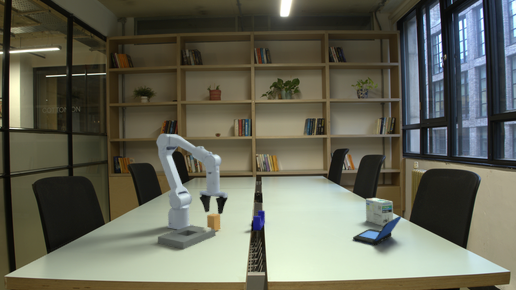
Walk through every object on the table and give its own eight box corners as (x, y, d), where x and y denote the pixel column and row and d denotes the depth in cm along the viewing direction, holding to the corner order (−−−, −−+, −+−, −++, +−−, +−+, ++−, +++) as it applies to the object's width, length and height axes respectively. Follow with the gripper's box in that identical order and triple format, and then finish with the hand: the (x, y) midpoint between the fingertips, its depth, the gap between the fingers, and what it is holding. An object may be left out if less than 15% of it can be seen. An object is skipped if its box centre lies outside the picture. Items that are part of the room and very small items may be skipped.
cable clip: (255, 222, 141) (255, 210, 141) (264, 223, 140) (264, 210, 140) (250, 230, 129) (249, 216, 129) (260, 230, 128) (259, 216, 128)
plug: (207, 231, 128) (207, 215, 128) (213, 228, 131) (213, 213, 131) (214, 232, 126) (214, 216, 126) (220, 230, 129) (220, 214, 129)
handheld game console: (369, 231, 124) (369, 210, 124) (402, 238, 114) (402, 215, 114) (351, 240, 113) (351, 217, 113) (386, 249, 103) (386, 223, 103)
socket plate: (157, 242, 114) (157, 234, 114) (190, 230, 129) (190, 222, 129) (183, 249, 106) (183, 239, 106) (215, 235, 122) (215, 227, 122)
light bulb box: (393, 224, 133) (393, 201, 133) (382, 226, 131) (382, 202, 131) (376, 219, 143) (376, 197, 143) (365, 220, 141) (365, 198, 140)
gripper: (194, 182, 129) (195, 212, 129) (220, 184, 121) (220, 216, 121) (205, 180, 135) (205, 209, 135) (230, 181, 127) (231, 212, 127)
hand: (213, 212), depth 129 cm, fingers open, 7 cm apart
